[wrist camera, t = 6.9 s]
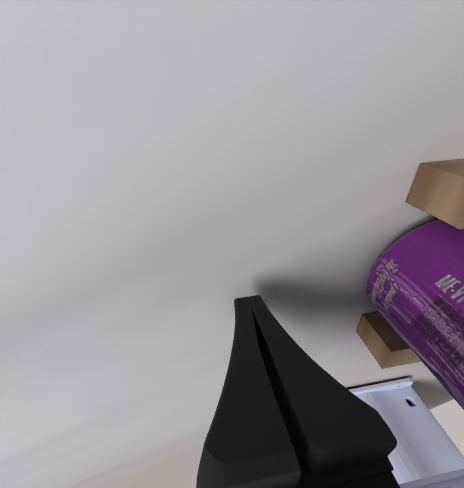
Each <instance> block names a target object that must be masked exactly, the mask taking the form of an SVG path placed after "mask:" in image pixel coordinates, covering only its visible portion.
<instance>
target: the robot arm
mask: <svg viewBox="0 0 464 488" xmlns="http://www.w3.org/2000/svg"><path fill="white" fill-rule="evenodd" d="M234 306H235V332H234V340H233V346H232V352H231V357H230V362H229V367H228V371H227V375H226V379H225V383H224V386H223V390H222V393H221V397H220V400H219V403H218V406H217V409H216V412H215V415H214V418H213V421H212V424H211V426H210V429H209V432H208V434H207V437H206V440H205V443H204V447H203V452H202V456H201V460H200V464H199V469H198V475H197V484H196V488H464V457H463V455H462V454H461V452H460V451H459V450H458V448H457V447H456V445H455V444H454V443H453V442H452V440H451V439H450V437H449V436H448V435H447V433H446V432H445V431H444V429H443V428H442V427H441V425H440V424H439V423H438V422H437V420H436V419H435V418H434V416H433V415H432V413H431V412H430V411H429V409H428V408H427V407H426V405H425V404H424V403H423V401H422V400H421V399H420V397H419V396H418V395H417V393H416V392H415V391H414V389H413V388H412V387H411V385H412V384H413V381H412V380H411V378H405V379H400V380H395V381H389V382H384V383H379V384H374V385H369V386H364V387H359V388H354V389H349V390H348V389H347V388H345V387H344V386H343V385H341V384H340V383H339V382H338V381H337V380H335V379H334V378H333V377H332V376H331V375H329V374H328V373H327V372H326V371H325V370H323V369H322V368H321V367H320V366H319V365H318V364H317V363H316V362H315V361H314V360H312V359H311V358H310V357H309V356H308V355H307V354H306V353H305V352H304V351H303V350H302V349H301V348H300V347H299V346H298V345H297V344H296V342H295V341H294V340H293V339H292V338H291V337H290V336H289V335H288V333H287V332H286V331H285V330H284V329H283V327H282V326H281V325H280V324H279V322H278V321H277V320H276V319H275V317H274V316H273V315H272V313H271V312H270V310H269V309H268V308H267V306H266V305H265V303H264V301H263V300H262V298H261V296H259V295H256V296H250V297H243V298H236V299H235V300H234Z"/></svg>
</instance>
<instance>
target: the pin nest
mask: <svg viewBox="0 0 464 488" xmlns="http://www.w3.org/2000/svg"><path fill="white" fill-rule="evenodd" d="M406 202H407V203H409V204H411V205H413V206H415V207H417V208H419V209H421V210H423V211H424V212H426V213H428V214H430V215H432V216H434V217H436V218H438V219H440V220H442V221H444V222H446V223H448V224H450V225H452V226H454V227H456V228H458V229H464V159H458V160H448V161H438V162H429V163H420V166H419V168H418V171H417V173H416V176H415V179H414V181H413V184H412V187H411V189H410V192H409V194H408V197H407V200H406ZM356 332H357V333H358V335H359V336H360V338H361V339H362V341H363V342H364V343H365V345H366V346H367V348H368V349H369V351H370V352H371V354H372V355H373V356H374V358H375V359H376V361H377V362H378V364H379V365H380V367H381V368H382V369H383V368H388V367H394V366H399V365H404V364H409V363H415V362H420V361H421V360H420V358H419V357H418V356H417V355H416V354H415V353H414V351H413V350H412V349H411V348H410V347H409V346H408V344H407V343H406V342H405V341H404V340H403V339H402V338H401V336H400V335H399V334H398V333H397V332H396V331H395V329H394V328H393V327H392V326H391V325H390V324H389V322H388V321H387V320H386V319H385V318H384V317H383V316H382V314H381V313H380V312H375V313H369V314H363V315H362V317H361V320H360V323H359V325H358V328H357V331H356Z"/></svg>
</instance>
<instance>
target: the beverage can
mask: <svg viewBox="0 0 464 488" xmlns="http://www.w3.org/2000/svg"><path fill="white" fill-rule="evenodd" d="M366 293H367V297H368V299H369V300H370V302H371V303H372V304H373V305H374V306H375V307H376V309H377V310H378V311H379V312H380V313H381V314H382V316H383V317H384V318H385V319H386V320H387V321H388V322H389V324H390V325H391V326H392V327H393V328H394V329H395V331H396V332H397V333H398V334H399V335H400V336H401V338H402V339H403V340H404V341H405V342H406V343H407V344H408V346H409V347H410V348H411V349H412V350H413V351H414V353H415V354H416V355H417V356H418V357H419V358H420V360H421V361H422V362H423V363H424V364H425V365H426V367H427V368H428V369H429V370H430V371H431V372H432V373H433V375H434V376H435V377H436V378H437V379H438V380H439V382H440V383H441V384H442V385H443V386H444V387H445V389H446V390H447V391H448V392H449V393H450V394H451V395H452V397H453V398H454V399H455V400H456V401H457V402H458V403H459V405H460V406H461V407H462V408H463V409H464V229H458V228H456V227H454V226H452V225H450V224H448V223H446V222H444V221H442V220H440V219H439V220H435V221H432V222H429V223H427V224H424V225H422V226H420V227H418V228H416V229H414V230H412V231H411V232H409V233H407V234H406V235H404V236H403V237H401V238H400V239H399V240H397V241H396V242H395V243H394V244H392V245H391V246H390V247H389V248H388V249H387V250H386V251H385V252H384V253H383V254H382V255H381V256H380V258H379V259H378V260H377V261H376V263H375V264H374V266H373V268H372V269H371V271H370V273H369V276H368V279H367V283H366Z"/></svg>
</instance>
